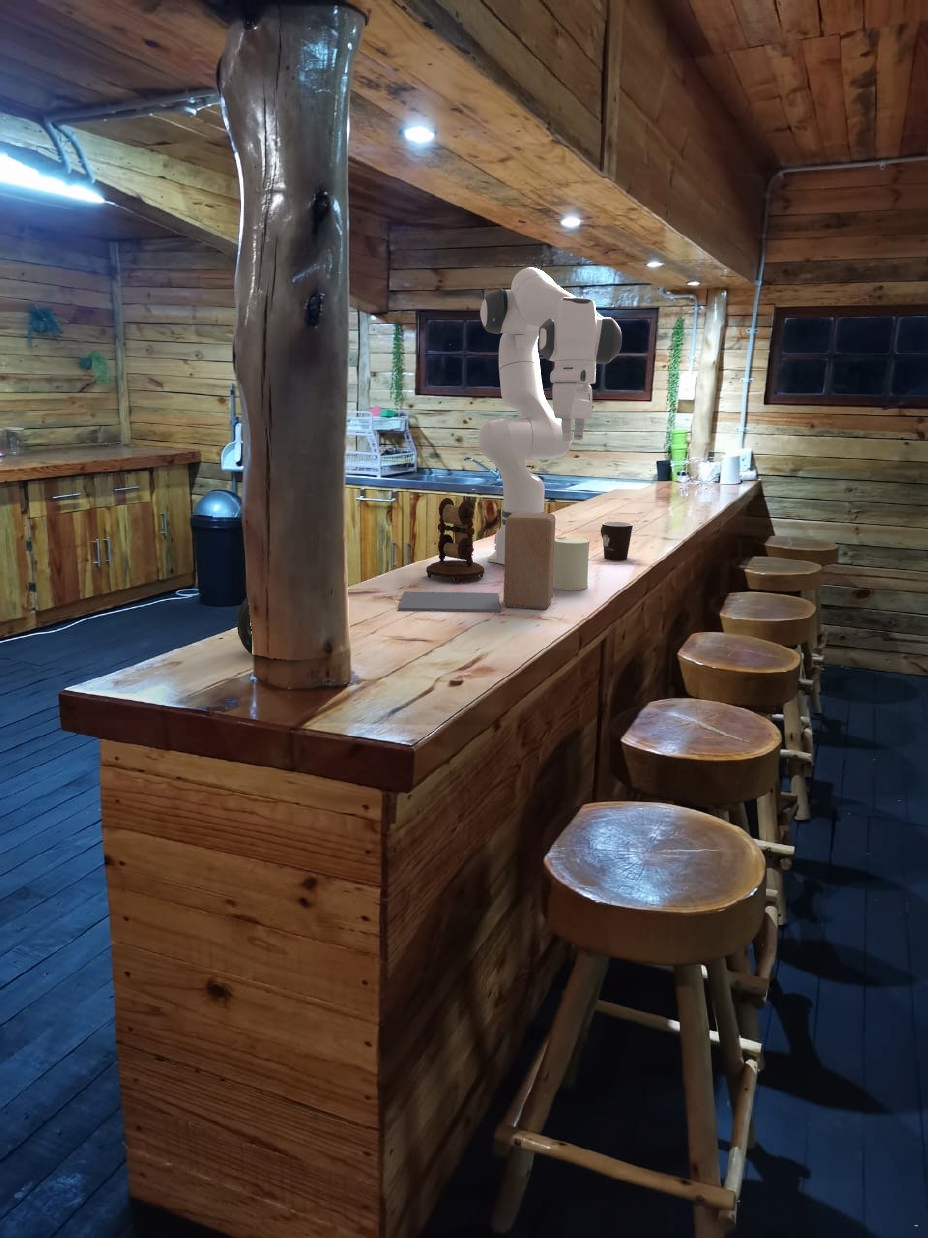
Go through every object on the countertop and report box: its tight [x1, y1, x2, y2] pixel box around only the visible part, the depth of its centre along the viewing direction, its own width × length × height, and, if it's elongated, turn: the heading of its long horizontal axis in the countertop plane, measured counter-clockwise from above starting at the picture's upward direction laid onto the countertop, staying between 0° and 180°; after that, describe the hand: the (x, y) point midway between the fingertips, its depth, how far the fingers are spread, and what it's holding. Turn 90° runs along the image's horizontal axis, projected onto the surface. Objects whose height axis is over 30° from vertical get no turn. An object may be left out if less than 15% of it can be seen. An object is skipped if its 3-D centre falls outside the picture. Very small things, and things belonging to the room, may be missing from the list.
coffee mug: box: [600, 521, 634, 562], centre depth 255 cm, size 12×9×10 cm
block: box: [502, 512, 556, 610], centre depth 198 cm, size 10×10×20 cm
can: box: [553, 536, 591, 592], centre depth 217 cm, size 9×9×12 cm
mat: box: [397, 590, 501, 613], centre depth 201 cm, size 16×22×1 cm
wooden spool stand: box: [425, 497, 485, 585], centre depth 224 cm, size 15×15×20 cm
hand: (573, 440), depth 196 cm, fingers open, 8 cm apart
